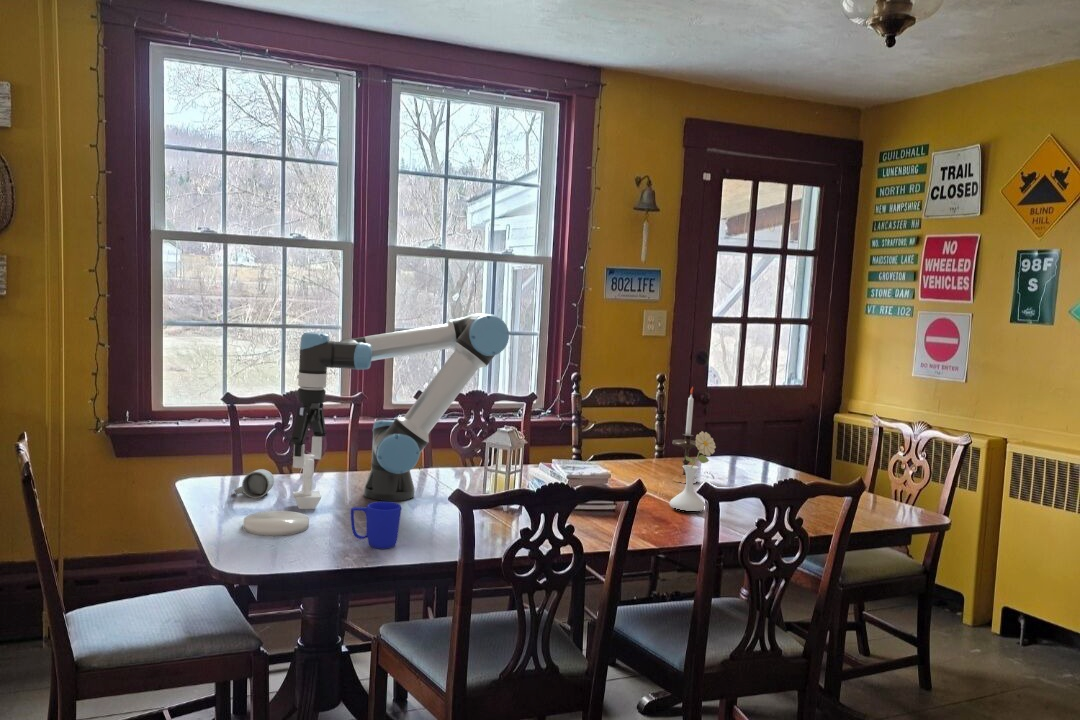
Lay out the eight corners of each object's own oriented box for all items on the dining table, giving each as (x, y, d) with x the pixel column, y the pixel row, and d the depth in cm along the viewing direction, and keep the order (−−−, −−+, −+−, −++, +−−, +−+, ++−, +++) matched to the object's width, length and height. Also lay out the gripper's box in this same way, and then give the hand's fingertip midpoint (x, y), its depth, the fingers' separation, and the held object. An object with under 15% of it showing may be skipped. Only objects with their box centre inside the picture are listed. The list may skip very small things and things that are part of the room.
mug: (351, 539, 207) (353, 500, 206) (400, 541, 208) (402, 502, 207) (346, 549, 198) (348, 508, 198) (397, 551, 199) (400, 510, 199)
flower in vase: (676, 515, 253) (683, 433, 251) (663, 505, 264) (669, 427, 262) (716, 515, 256) (723, 435, 254) (702, 506, 267) (708, 428, 265)
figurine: (318, 502, 240) (320, 451, 239) (321, 511, 231) (323, 457, 230) (292, 503, 237) (294, 451, 236) (294, 511, 229) (296, 457, 227)
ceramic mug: (275, 492, 248) (275, 466, 248) (268, 498, 240) (269, 472, 240) (238, 491, 247) (239, 465, 247) (230, 497, 239) (231, 471, 239)
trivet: (317, 521, 221) (318, 513, 220) (294, 538, 205) (295, 530, 205) (259, 516, 222) (259, 508, 222) (232, 532, 206) (232, 524, 206)
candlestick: (702, 485, 298) (710, 388, 295) (672, 483, 298) (679, 386, 295) (696, 478, 309) (703, 385, 306) (667, 477, 309) (674, 383, 306)
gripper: (314, 382, 244) (310, 454, 246) (280, 391, 220) (276, 470, 221) (339, 385, 244) (335, 456, 245) (308, 393, 219) (303, 473, 220)
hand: (307, 463), depth 233 cm, fingers open, 13 cm apart
